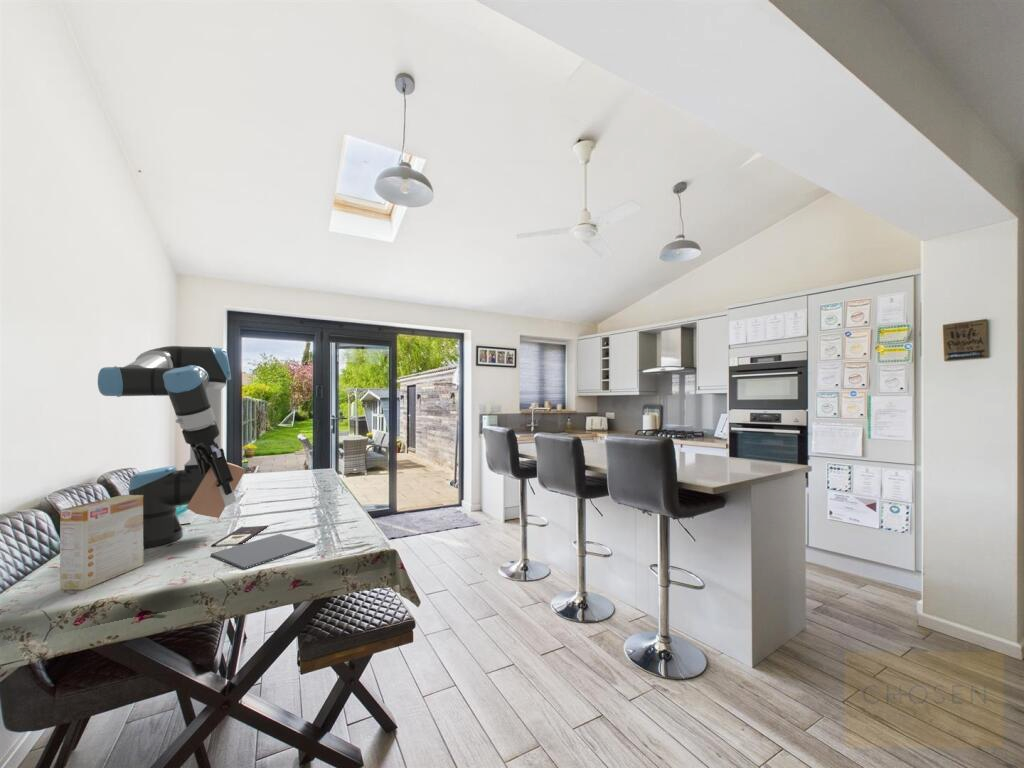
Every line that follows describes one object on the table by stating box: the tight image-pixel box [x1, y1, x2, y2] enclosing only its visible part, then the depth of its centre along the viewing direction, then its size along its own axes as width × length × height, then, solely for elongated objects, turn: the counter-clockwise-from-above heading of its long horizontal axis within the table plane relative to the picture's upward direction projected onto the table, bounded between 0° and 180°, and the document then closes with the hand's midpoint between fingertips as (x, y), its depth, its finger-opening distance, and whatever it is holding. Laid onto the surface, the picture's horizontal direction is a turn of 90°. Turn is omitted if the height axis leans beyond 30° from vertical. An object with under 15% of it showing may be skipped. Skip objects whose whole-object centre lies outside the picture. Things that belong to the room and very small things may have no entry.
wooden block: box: [186, 462, 247, 519], centre depth 115 cm, size 6×6×14 cm
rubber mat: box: [210, 533, 316, 569], centre depth 124 cm, size 20×20×1 cm
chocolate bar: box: [210, 525, 269, 548], centre depth 138 cm, size 9×1×18 cm
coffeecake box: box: [59, 494, 144, 591], centre depth 108 cm, size 15×7×20 cm, turn 174°
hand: (224, 499), depth 117 cm, fingers closed on wooden block, 6 cm apart
